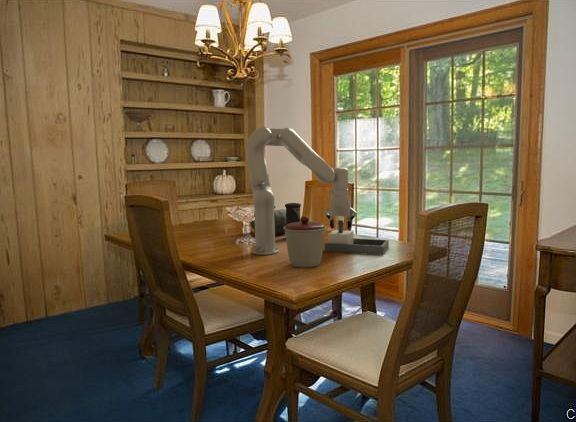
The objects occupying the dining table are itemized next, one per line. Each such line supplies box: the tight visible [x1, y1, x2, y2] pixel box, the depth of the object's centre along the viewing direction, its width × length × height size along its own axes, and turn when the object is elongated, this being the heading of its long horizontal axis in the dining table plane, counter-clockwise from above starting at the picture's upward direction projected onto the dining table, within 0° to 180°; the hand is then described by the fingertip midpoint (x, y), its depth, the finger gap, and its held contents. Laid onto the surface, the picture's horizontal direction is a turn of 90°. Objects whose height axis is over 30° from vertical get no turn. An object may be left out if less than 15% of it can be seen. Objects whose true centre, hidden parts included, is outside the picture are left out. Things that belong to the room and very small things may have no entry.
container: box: [284, 202, 302, 225], centre depth 250 cm, size 9×9×20 cm
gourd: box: [249, 205, 286, 236], centre depth 266 cm, size 25×25×17 cm
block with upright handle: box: [327, 219, 354, 244], centre depth 220 cm, size 11×10×13 cm
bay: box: [324, 237, 390, 256], centre depth 218 cm, size 16×28×4 cm, turn 68°
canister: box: [283, 215, 327, 269], centre depth 189 cm, size 18×18×21 cm
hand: (340, 228), depth 220 cm, fingers open, 7 cm apart
